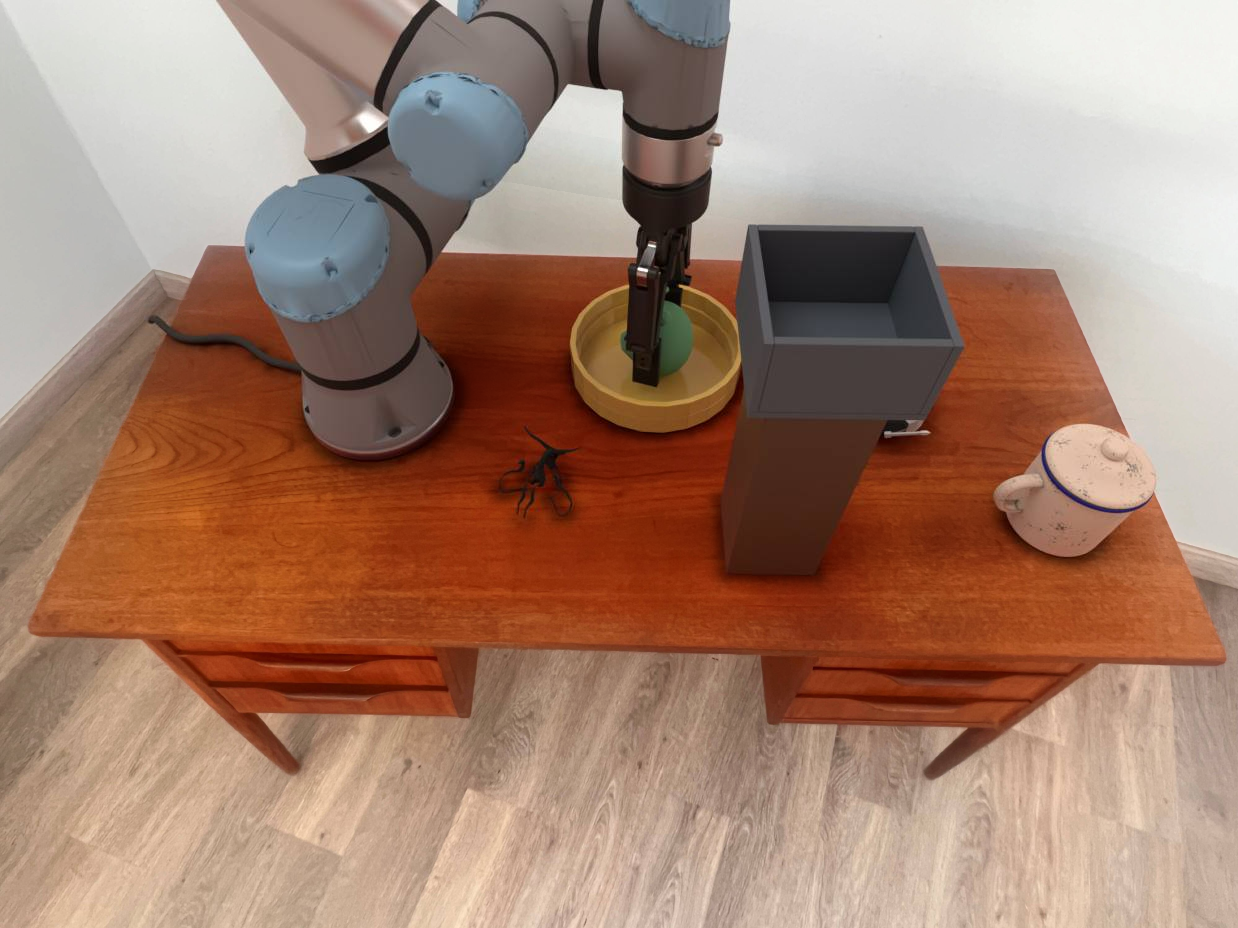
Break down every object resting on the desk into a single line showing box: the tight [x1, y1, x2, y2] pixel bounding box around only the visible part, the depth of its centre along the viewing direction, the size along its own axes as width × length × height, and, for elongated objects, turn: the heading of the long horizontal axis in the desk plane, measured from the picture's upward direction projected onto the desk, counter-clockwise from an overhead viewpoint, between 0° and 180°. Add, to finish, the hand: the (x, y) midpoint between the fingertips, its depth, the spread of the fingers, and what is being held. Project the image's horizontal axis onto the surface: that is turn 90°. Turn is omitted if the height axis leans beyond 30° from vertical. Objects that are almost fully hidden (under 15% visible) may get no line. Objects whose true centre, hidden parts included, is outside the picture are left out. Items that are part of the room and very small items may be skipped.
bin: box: [720, 223, 966, 576], centre depth 57 cm, size 11×11×31 cm
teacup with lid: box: [992, 423, 1157, 558], centre depth 66 cm, size 12×9×12 cm
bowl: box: [569, 284, 742, 434], centre depth 80 cm, size 18×18×4 cm
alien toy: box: [620, 287, 694, 377], centre depth 77 cm, size 7×8×10 cm
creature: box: [498, 425, 582, 519], centre depth 70 cm, size 8×5×8 cm
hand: (656, 356), depth 80 cm, fingers closed on alien toy, 7 cm apart
